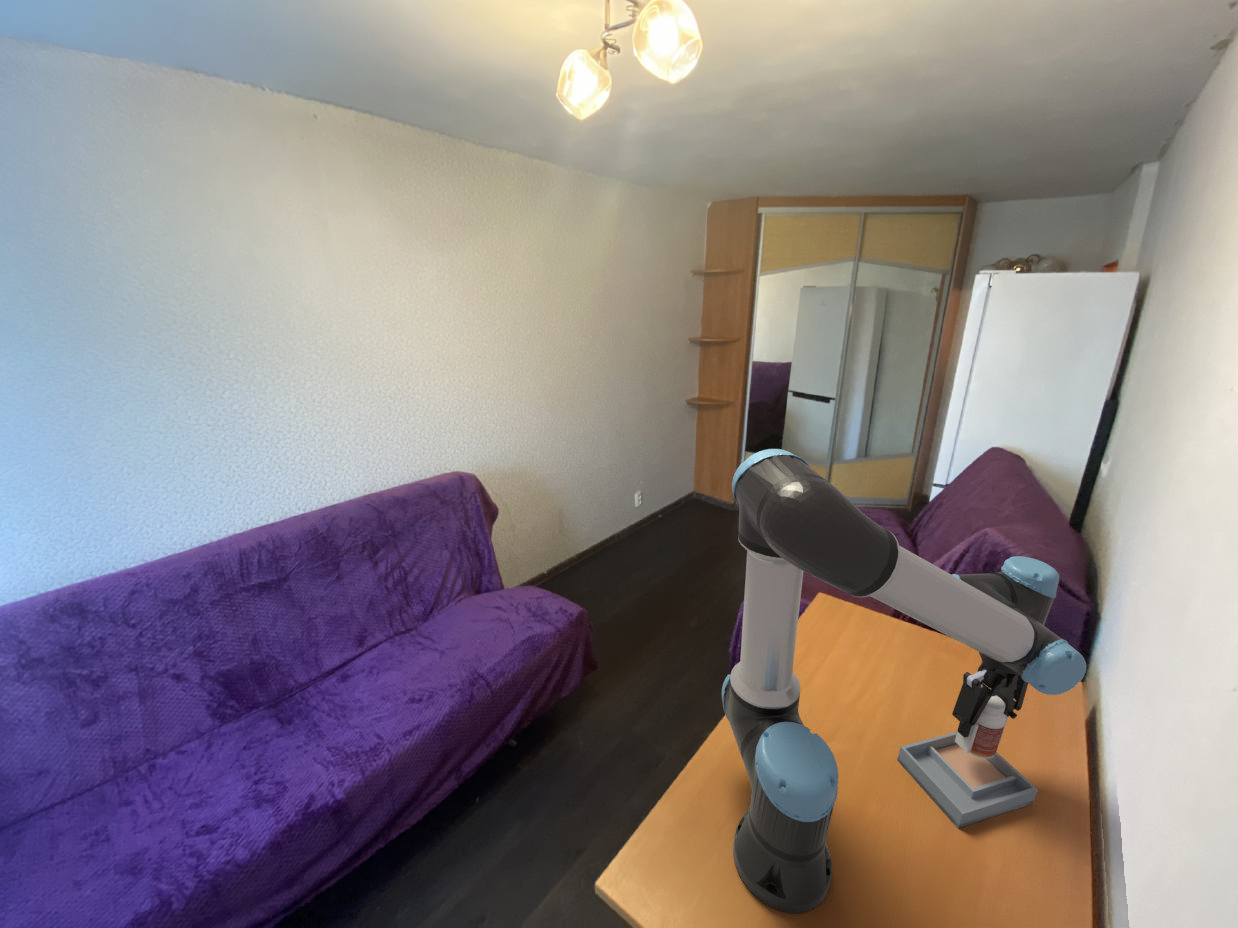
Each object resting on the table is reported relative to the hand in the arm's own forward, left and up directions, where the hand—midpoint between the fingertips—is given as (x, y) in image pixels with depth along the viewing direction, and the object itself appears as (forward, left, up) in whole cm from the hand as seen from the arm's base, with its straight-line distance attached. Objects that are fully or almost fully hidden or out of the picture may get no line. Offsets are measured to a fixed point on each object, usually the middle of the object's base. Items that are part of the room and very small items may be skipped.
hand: (976, 742), depth 99 cm
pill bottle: (0, 0, -1) cm, 1 cm away
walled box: (-3, -2, -7) cm, 8 cm away
